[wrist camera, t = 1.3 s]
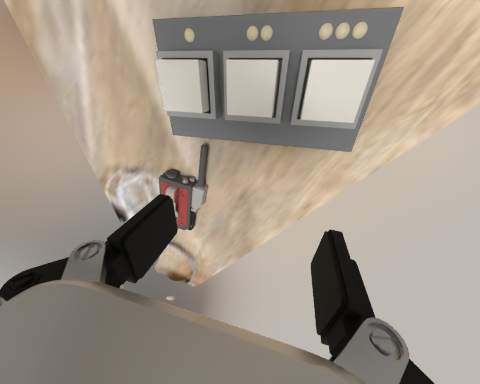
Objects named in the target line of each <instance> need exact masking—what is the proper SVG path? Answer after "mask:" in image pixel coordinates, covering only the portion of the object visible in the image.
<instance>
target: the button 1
mask: <svg viewBox="0 0 480 384" xmlns="http://www.w3.org/2000/svg"><path fill="white" fill-rule="evenodd" d="M155 63H156V69H157V74H158V79H159V85H160V90H161V95H162V101H163V106H164V111H178V112H193V113H204V112H207V111H209V100H208V85H207V69H206V61H202V60H155Z"/></svg>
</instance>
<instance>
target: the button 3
mask: <svg viewBox="0 0 480 384" xmlns="http://www.w3.org/2000/svg"><path fill="white" fill-rule="evenodd" d="M374 62H375V60H311V62H310V66H309V72H308V77H307V82H306V88H305V93H304V98H303V104H302V109H301V114H300V118H301V120H315V121H330V122H345V123H354V120H355V117H356V114H357V111H358V108H359V105H360V102H361V100H362V97H363V94H364V91H365V88H366V85H367V82H368V79H369V76H370V73H371V70H372V67H373V65H374Z"/></svg>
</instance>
